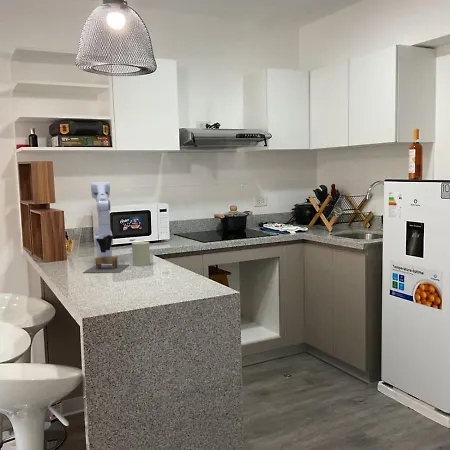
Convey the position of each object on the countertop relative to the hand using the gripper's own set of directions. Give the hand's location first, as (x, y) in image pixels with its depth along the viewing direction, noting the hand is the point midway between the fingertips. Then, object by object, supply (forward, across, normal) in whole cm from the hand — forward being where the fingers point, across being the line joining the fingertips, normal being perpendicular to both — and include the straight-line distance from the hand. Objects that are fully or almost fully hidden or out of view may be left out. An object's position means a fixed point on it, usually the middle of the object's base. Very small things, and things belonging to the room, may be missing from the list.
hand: (105, 251), depth 257 cm
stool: (+8, +1, 0) cm, 9 cm away
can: (+9, -11, +16) cm, 21 cm away
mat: (+9, +1, +1) cm, 9 cm away
